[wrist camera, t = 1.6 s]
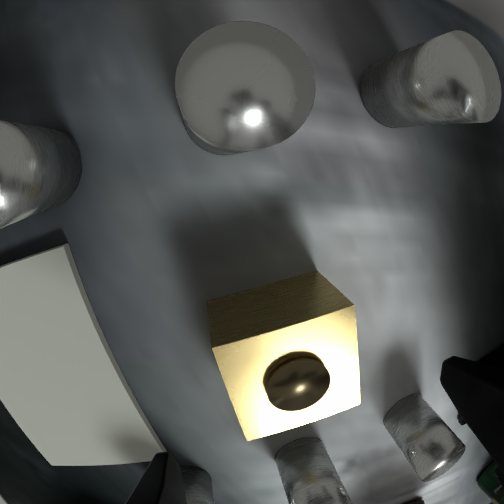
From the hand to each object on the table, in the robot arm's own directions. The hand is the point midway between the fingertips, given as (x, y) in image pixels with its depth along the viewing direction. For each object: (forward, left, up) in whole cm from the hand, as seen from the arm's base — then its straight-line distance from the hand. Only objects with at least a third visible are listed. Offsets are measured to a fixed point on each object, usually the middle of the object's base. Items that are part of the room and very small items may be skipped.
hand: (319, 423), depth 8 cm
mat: (+11, 0, -6) cm, 12 cm away
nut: (0, 0, -6) cm, 6 cm away
